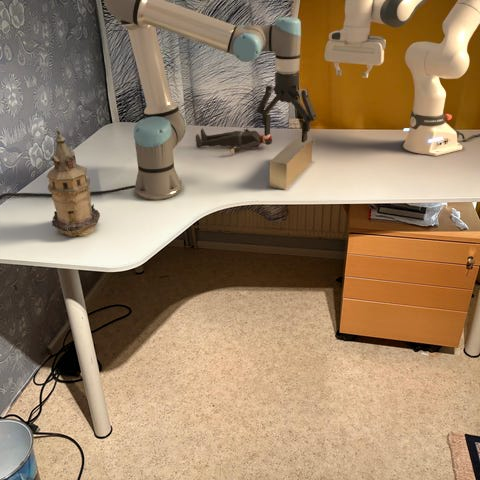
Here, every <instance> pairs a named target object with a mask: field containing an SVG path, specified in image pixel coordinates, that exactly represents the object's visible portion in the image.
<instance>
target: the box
mask: <svg viewBox="0 0 480 480" xmlns="http://www.w3.org/2000/svg"><path fill="white" fill-rule="evenodd" d="M313 146H314V138H312V137H307V140H306V141H305V142H302V136H299V135H298V136H296V137H295V138H294V139H293V140H292V141H291V142H290V143H288V145H286V146H285V147H284V148H283V149H282V150H281V151H279V152H278V153H277V154H276V155H275V156H274V157H273V158H271V160H270V161H269V188H272V189H278V190H279V189H280V190H285V191H287V190H288V189H289V187H290V186H291V185H293V183H294V182H295V181H296V180H297V179H298V178H299V176H300V175H301V174H302V173H303V172H304V171H305V170H306V169H307V168H308V167H309V165H310V164H312V162H313Z"/></svg>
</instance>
